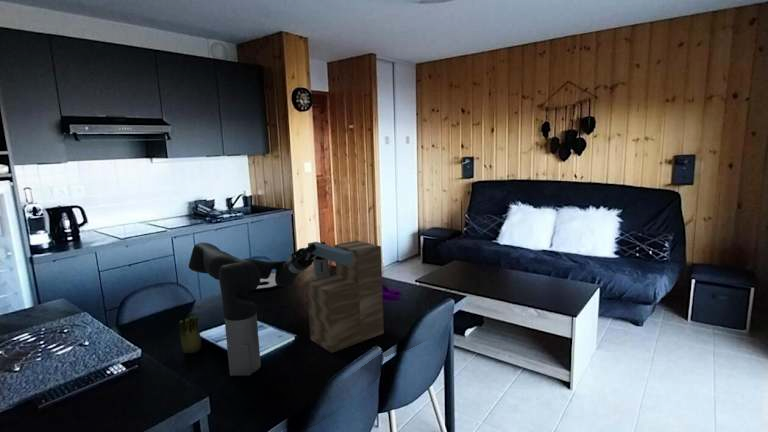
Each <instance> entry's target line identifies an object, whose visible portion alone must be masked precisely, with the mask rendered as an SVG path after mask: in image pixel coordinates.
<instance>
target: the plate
mask: <svg viewBox="0 0 768 432" xmlns="http://www.w3.org/2000/svg"><path fill="white" fill-rule="evenodd" d="M275 275H276V273H272V272H271V274H270V276H269V278H268V279H260V283H263V282H267V283H268V284H263V285H260V284H259V285H258V287H257V288H256V289H254V290H255V291H256V290H257V291H261V290H268V289H272V288H276V287H279V286H278V285H277V284H276V282H275ZM254 290H253V291H254Z"/></svg>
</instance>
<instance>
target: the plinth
mask: <svg viewBox="0 0 768 432" xmlns="http://www.w3.org/2000/svg"><path fill="white" fill-rule="evenodd" d="M334 247H336V248H339V249H342V250H346V251H349V252H352V253H353V261H354V263H353V264H349V265H342V264H339V263H336V262H335V274H333V275H330V276H328V277H324V278H320V279H317V278H315V279H313V280H312V279H311V280H308V281H306V289H307V290H306V291H307V292H306V293H307V304H308V305H307V307H308V320H309V321H308V323H309V324H308V325H309V337H310V340H311V341H312V342H314V343H316V344H317V345H318V346H320V347H322V348H324V350H327V351H328V352H329V353H332V354H333V353H336V352H338V351H340V350H344V349H345V348H348V347H350V346H354V345H357V344H358V343H363V342H365V341H366V340H369V339H373V338H375V337H378V336H380V335H381V336H382V335H383V334H384V332H385V331H384V330H385V329H384V326H385V325H384V302H383V300H384V299H383V294H382V284H383V272H382V271H383V270H382V268H383V267H382V246H381V245H377V244H373V243H369V242H366V241H360V240H353V241H348V242H347V241H346V242H343V243H337V244H334Z"/></svg>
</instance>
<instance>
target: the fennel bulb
mask: <svg viewBox="0 0 768 432" xmlns="http://www.w3.org/2000/svg"><path fill="white" fill-rule="evenodd" d="M198 322H199V321H198V316H189V317H188V318H186V319H185V320H184V321H183V320H180V321H179V322H178V323H179V331H180V333H179V334H180V346H181V349H182V351H183V353H184V354H195V353H197V352H199V351H200V349H201V347H202V338H201V337H202V336H201V334H200V329H199V323H198Z"/></svg>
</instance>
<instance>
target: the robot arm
mask: <svg viewBox="0 0 768 432" xmlns="http://www.w3.org/2000/svg"><path fill="white" fill-rule="evenodd" d="M321 243H322V244H326V242H325V241H321ZM315 249H316V248H315V244H311V245H310V246H309V247H308V246H306V247H301V248H298V249H297V250H296V251H295V252H293V253H291V255H290V256H289V258H288V259H286V260H280V261H265V260H261V259H255V258H253V259H252V258H249V259H241V258H238V257H236V256H233V255H232V254H230V253H228V252H225V251H223V250H221V249H220V248H219V247H217V246H216V245H214V244H212V243H209V242H198V243H196V244H195V245H194V246H193V249H192V251H191V255H190V259H189V262H188V268H189V270H191V271H193V272H195V273H201V274H207V275H208V276H210V277H212V278H213V279H215V280H218V281H219V285H220V286H219V287H220V292H221V301H222V308H223V315H224V326H225V327H224V329H225V338H226V348H227V358H228V369H229V376H231V377H233V376H236V377H237V376H251V375H252V374H253V373H255V372H257V371H258V370H259V369H260V368H261V366H262V362H261V352H260V337H259V329H258V328H259V327H258V318H257V317H258V315H257V306H256V304H255V302H252V301H251V300H244V299H243V300H242V299H238V298H236V296H237V295H239V294H245V293H249V292H252V291H254V289H256V288H257V287H258V285H260V283H261V282H260V279H268V278H269V276H270V274H271V273H272V271H273V270H275V274H276V275H275V282H276V284H277V285H278V286H277V287H281V288H287V287H289V286H292V284H293V283H294V282H295V280H296V279H297V276H298V275H299V274H300V273H303V272H304V271H305V270H306V269H308V268H309V267H310V266H313V261H314V258H315V257H316V255H313V254H311V253H312V252H313V251H314V250H315Z"/></svg>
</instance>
